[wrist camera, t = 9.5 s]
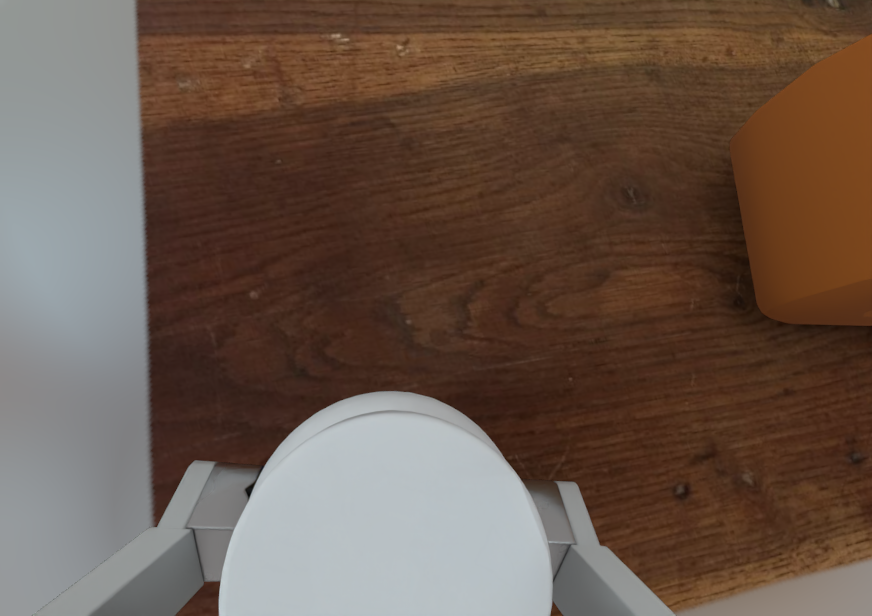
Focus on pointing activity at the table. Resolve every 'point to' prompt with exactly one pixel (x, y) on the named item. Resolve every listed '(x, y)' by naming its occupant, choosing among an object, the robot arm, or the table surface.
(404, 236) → the table surface
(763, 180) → the alarm clock
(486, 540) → the pill bottle
